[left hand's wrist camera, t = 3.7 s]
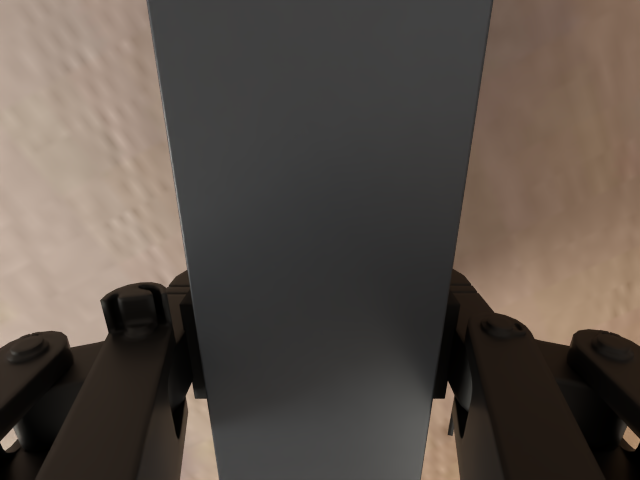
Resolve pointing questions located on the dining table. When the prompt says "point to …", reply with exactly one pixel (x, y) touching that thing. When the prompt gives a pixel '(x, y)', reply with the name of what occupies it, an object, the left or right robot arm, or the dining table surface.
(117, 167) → the dining table surface
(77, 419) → the left robot arm
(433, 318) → the bar
